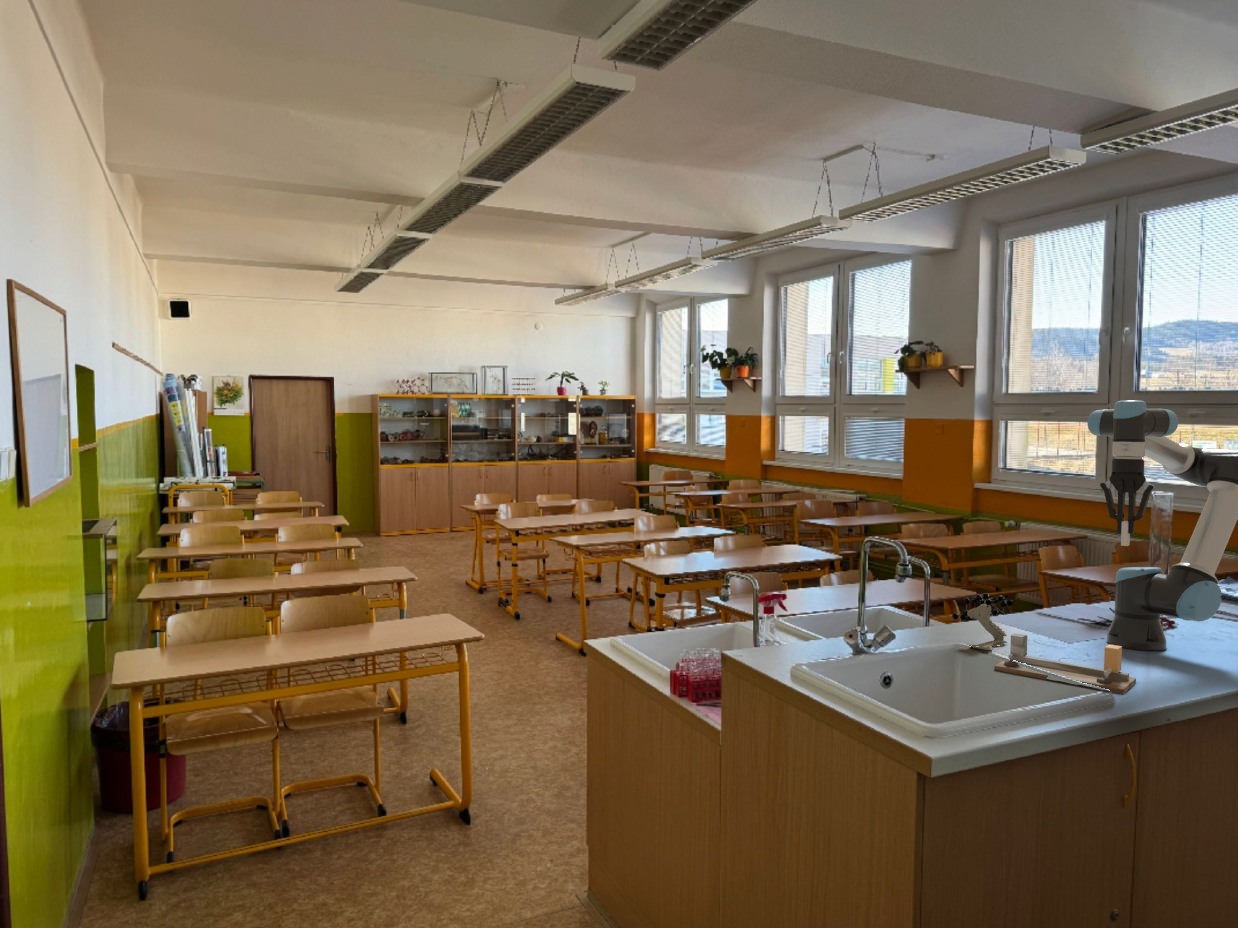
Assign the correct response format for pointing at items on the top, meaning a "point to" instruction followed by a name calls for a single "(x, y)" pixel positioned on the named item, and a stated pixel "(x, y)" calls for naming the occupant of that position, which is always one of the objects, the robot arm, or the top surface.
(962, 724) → the top surface
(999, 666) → the gauge board
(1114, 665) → the block
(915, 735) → the top surface
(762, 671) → the top surface
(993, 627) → the jawbone
